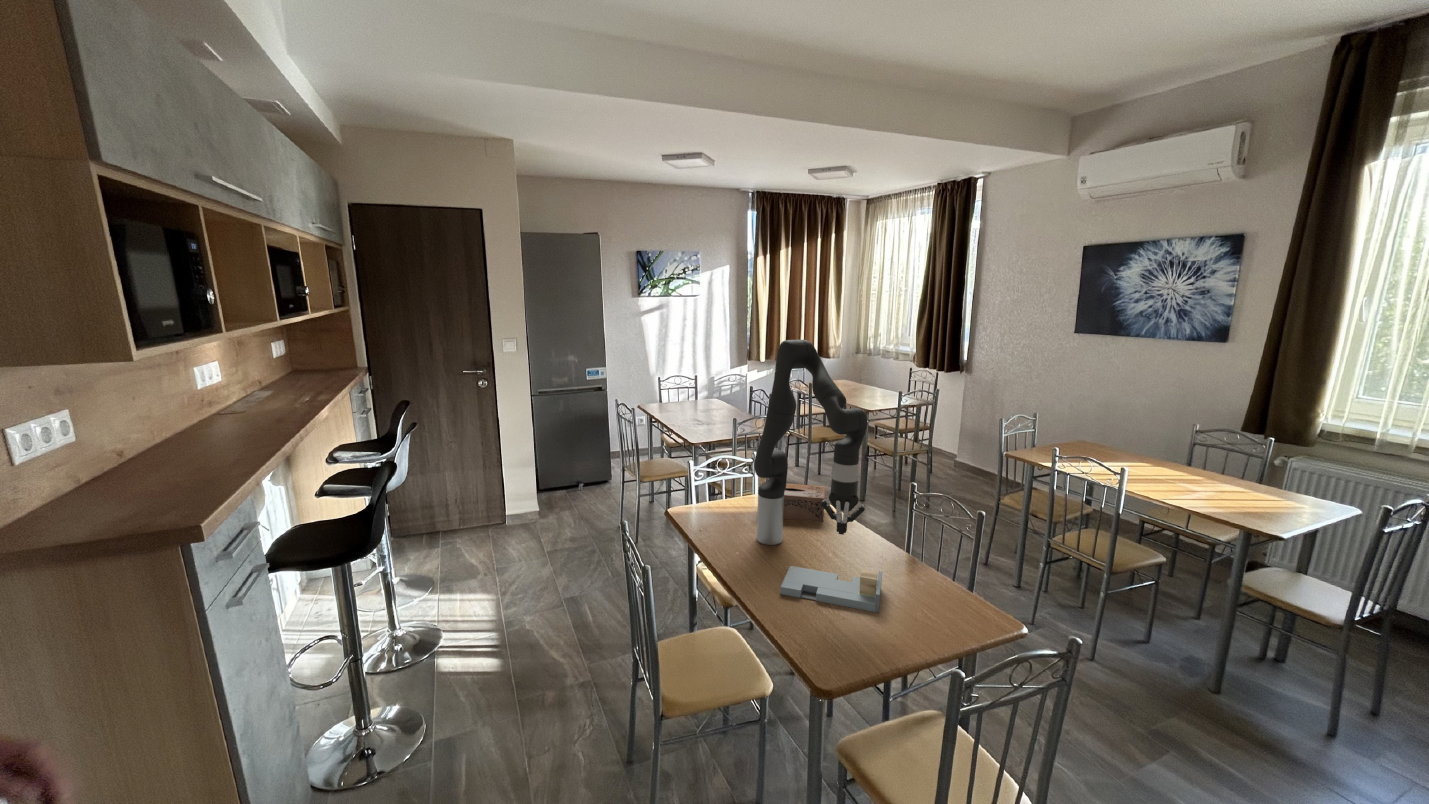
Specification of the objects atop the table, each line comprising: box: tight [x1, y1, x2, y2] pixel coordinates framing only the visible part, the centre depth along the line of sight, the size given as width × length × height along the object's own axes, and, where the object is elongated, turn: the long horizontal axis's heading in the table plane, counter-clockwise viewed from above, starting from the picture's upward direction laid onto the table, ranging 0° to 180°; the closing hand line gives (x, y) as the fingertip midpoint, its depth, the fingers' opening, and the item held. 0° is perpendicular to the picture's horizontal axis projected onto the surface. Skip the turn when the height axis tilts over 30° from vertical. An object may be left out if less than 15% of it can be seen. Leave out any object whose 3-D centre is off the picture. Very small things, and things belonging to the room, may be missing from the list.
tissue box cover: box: [761, 481, 826, 523], centre depth 229 cm, size 26×14×10 cm, turn 79°
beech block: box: [859, 569, 878, 596], centre depth 165 cm, size 4×4×5 cm
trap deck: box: [779, 565, 883, 613], centre depth 169 cm, size 14×28×5 cm, turn 71°
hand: (841, 533), depth 165 cm, fingers closed
